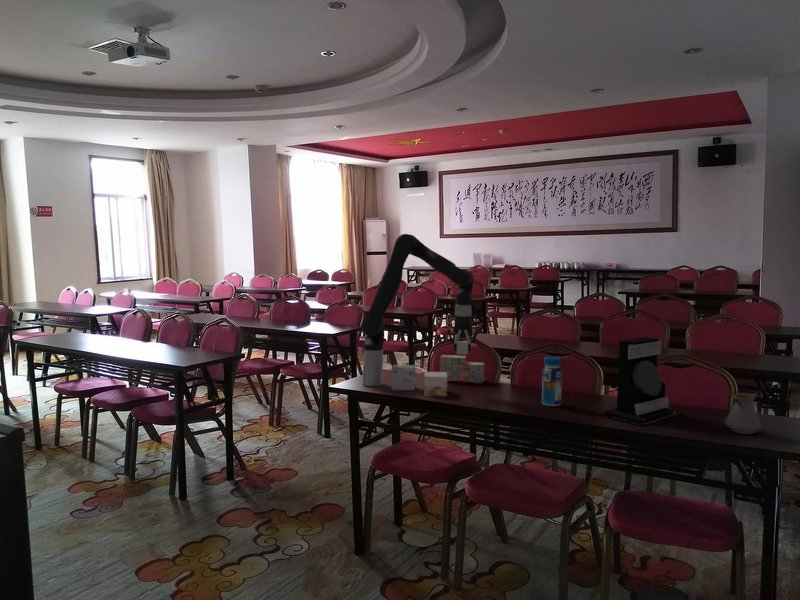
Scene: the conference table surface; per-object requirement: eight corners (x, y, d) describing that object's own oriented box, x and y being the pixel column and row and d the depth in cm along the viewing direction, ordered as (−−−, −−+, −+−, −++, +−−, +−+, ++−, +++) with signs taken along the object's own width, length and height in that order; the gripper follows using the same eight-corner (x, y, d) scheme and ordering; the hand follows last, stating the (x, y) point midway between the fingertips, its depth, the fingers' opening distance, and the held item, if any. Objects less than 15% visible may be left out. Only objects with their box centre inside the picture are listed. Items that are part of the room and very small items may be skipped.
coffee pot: (728, 425, 226) (730, 385, 225) (763, 431, 218) (766, 390, 217) (714, 438, 210) (716, 396, 208) (752, 445, 202) (754, 402, 201)
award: (641, 427, 223) (644, 347, 220) (598, 415, 238) (600, 340, 236) (685, 414, 241) (688, 340, 238) (642, 404, 256) (645, 334, 253)
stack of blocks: (484, 381, 299) (484, 356, 298) (482, 383, 293) (482, 359, 292) (442, 378, 305) (442, 354, 304) (439, 381, 299) (439, 356, 298)
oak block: (424, 396, 268) (424, 386, 268) (424, 391, 278) (424, 381, 278) (446, 396, 268) (447, 386, 267) (446, 391, 278) (446, 381, 277)
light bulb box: (415, 387, 284) (415, 364, 283) (414, 390, 278) (414, 367, 277) (393, 386, 286) (393, 364, 285) (391, 390, 279) (391, 367, 278)
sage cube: (456, 353, 271) (457, 343, 271) (456, 352, 276) (456, 341, 276) (467, 354, 271) (468, 343, 270) (467, 352, 276) (467, 341, 275)
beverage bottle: (538, 401, 259) (539, 355, 257) (557, 401, 260) (559, 355, 258) (544, 406, 251) (545, 359, 249) (564, 406, 251) (565, 359, 250)
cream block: (424, 386, 268) (424, 376, 268) (424, 381, 278) (424, 371, 278) (446, 386, 268) (447, 376, 267) (446, 381, 277) (446, 372, 277)
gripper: (447, 315, 268) (446, 352, 270) (479, 316, 268) (478, 353, 269) (446, 313, 276) (446, 349, 277) (478, 314, 275) (477, 350, 277)
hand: (462, 351), depth 273 cm, fingers closed on sage cube, 5 cm apart
